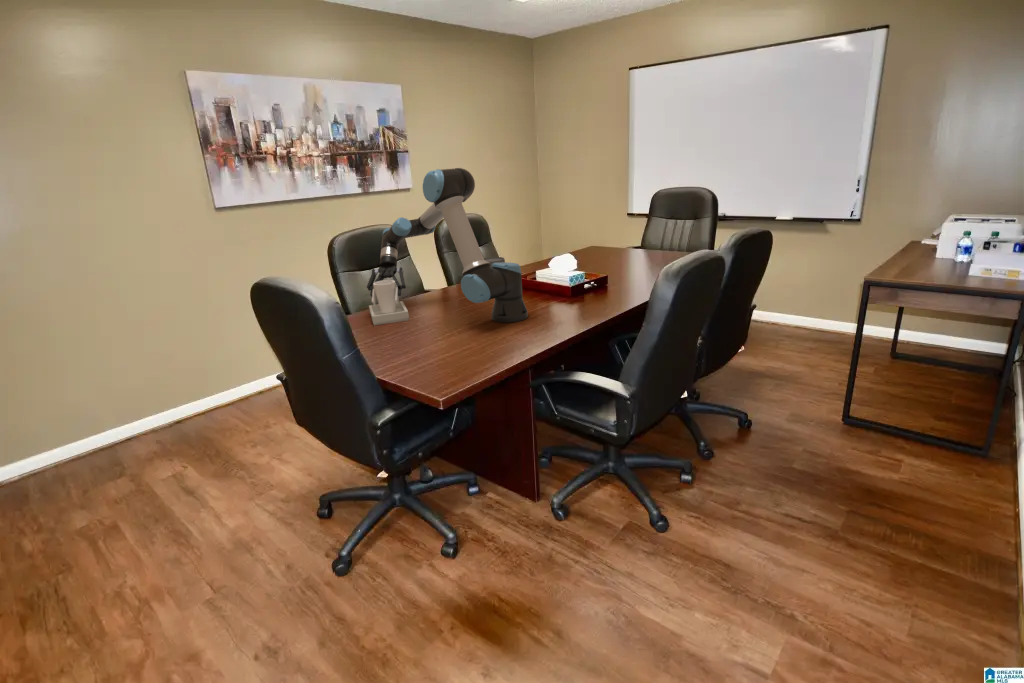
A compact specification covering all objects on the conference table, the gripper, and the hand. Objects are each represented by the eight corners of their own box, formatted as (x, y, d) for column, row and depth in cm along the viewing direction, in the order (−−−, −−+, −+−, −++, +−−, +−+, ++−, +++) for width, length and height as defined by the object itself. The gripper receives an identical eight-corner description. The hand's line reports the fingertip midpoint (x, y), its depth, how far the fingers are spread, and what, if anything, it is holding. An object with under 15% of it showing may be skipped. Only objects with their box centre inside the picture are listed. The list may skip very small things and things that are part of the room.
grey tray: (409, 320, 227) (408, 311, 226) (373, 325, 223) (372, 316, 222) (403, 309, 245) (402, 300, 244) (370, 314, 241) (368, 305, 240)
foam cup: (393, 314, 228) (389, 284, 224) (373, 314, 230) (369, 285, 226) (402, 308, 237) (398, 279, 233) (383, 308, 239) (378, 280, 234)
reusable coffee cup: (511, 286, 275) (509, 257, 270) (498, 291, 265) (495, 262, 261) (491, 284, 282) (489, 256, 277) (478, 289, 272) (475, 261, 267)
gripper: (414, 262, 241) (412, 305, 232) (367, 265, 242) (362, 308, 233) (411, 253, 235) (408, 296, 225) (362, 256, 236) (357, 299, 226)
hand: (385, 302), depth 229 cm, fingers closed on foam cup, 9 cm apart
